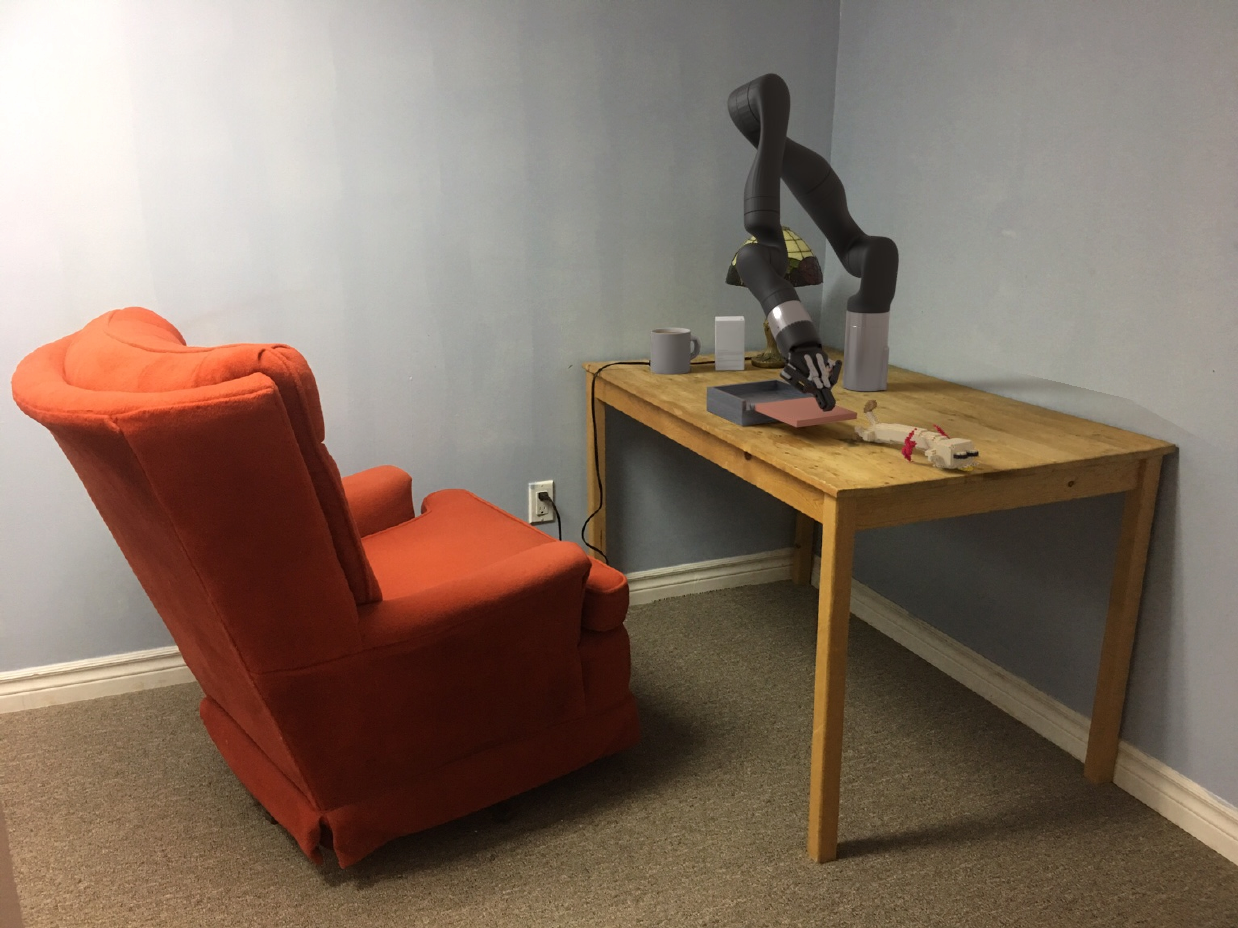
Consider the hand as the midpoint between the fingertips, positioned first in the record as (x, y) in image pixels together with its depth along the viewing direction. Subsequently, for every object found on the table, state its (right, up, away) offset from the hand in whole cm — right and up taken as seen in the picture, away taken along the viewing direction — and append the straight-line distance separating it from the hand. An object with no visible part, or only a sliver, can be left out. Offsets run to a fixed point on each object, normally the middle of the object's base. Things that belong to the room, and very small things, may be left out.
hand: (829, 409), depth 164 cm
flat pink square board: (-6, +2, +14) cm, 15 cm away
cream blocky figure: (+13, -9, -8) cm, 17 cm away
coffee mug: (-23, +13, +66) cm, 71 cm away
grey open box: (-9, 0, +22) cm, 24 cm away
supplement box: (-10, +14, +67) cm, 70 cm away
